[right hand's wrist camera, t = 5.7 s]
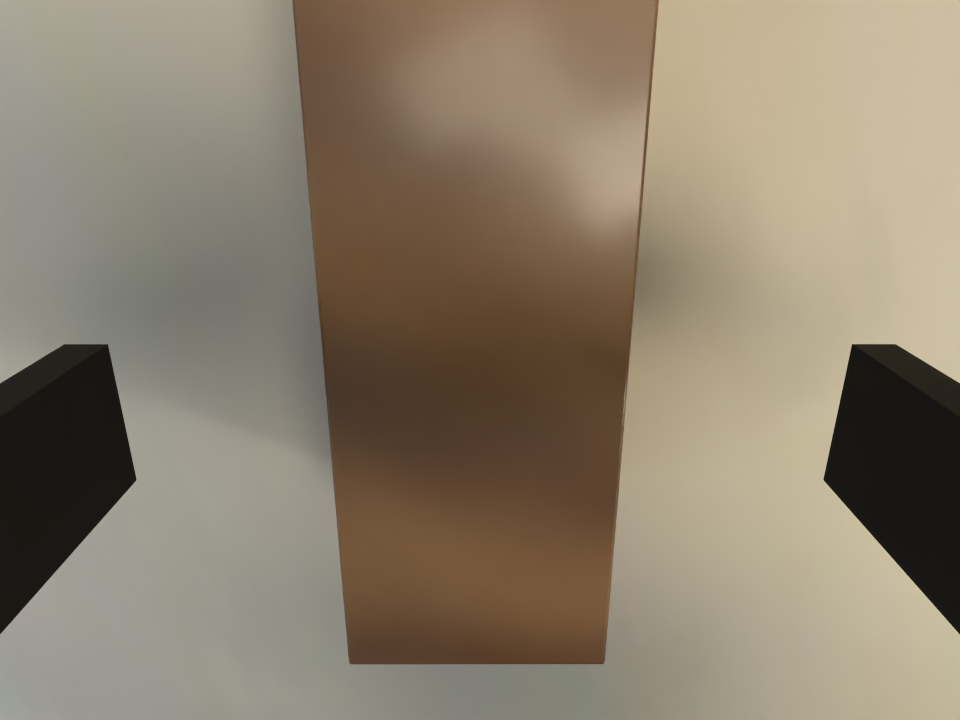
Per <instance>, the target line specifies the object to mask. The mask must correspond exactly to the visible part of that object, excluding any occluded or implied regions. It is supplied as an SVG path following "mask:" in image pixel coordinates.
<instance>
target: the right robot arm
mask: <svg viewBox="0 0 960 720" xmlns="http://www.w3.org/2000/svg"><path fill="white" fill-rule="evenodd" d="M135 481H136V475H135V471H134V466H133V461H132V457H131V452H130V447H129V442H128V438H127V433H126V428H125V423H124V419H123V414H122V409H121V405H120V400H119V395H118V390H117V386H116V381H115V376H114V371H113V367H112V362H111V357H110V352H109V348H108V344H64V345H63V346H61V347H59V348H58V349H56V350H54V351H53V352H51V353H49V354H48V355H46V356H45V357H43V358H41V359H40V360H38V361H36V362H35V363H33V364H31V365H30V366H28V367H26V368H25V369H23V370H22V371H20V372H18V373H17V374H15V375H13V376H12V377H10V378H8V379H7V380H5V381H4V382H2V383H0V634H1V633H2V632H3V630H4V629H5V628H6V627H7V626H8V625H9V624H10V623H11V621H12V620H13V619H14V618H15V617H16V616H17V615H18V613H19V612H20V611H21V610H22V609H23V608H24V607H25V606H26V604H27V603H28V602H29V601H30V600H31V599H32V598H33V596H34V595H35V594H36V593H37V592H38V591H39V590H40V589H41V587H42V586H43V585H44V584H45V583H46V582H47V581H48V580H49V578H50V577H51V576H52V575H53V574H54V573H55V572H56V570H57V569H58V568H59V567H60V566H61V565H62V564H63V563H64V561H65V560H66V559H67V558H68V557H69V556H70V555H71V553H72V552H73V551H74V550H75V549H76V548H77V547H78V546H79V544H80V543H81V542H82V541H83V540H84V539H85V538H86V537H87V535H88V534H89V533H90V532H91V531H92V530H93V529H94V527H95V526H96V525H97V524H98V523H99V522H100V521H101V520H102V518H103V517H104V516H105V515H106V514H107V513H108V512H109V510H110V509H111V508H112V507H113V506H114V505H115V504H116V503H117V501H118V500H119V499H120V498H121V497H122V496H123V495H124V494H125V492H126V491H127V490H128V489H129V488H130V487H131V486H132V484H133V483H134V482H135ZM824 481H825V482H826V483H827V484H828V486H829V487H830V488H831V489H832V490H833V491H834V492H835V494H836V495H837V496H838V497H839V498H840V499H841V500H842V501H843V503H844V504H845V505H846V506H847V507H848V508H849V509H850V510H851V512H852V513H853V514H854V515H855V516H856V517H857V518H858V520H859V521H860V522H861V523H862V524H863V525H864V526H865V527H866V529H867V530H868V531H869V532H870V533H871V534H872V535H873V537H874V538H875V539H876V540H877V541H878V542H879V543H880V544H881V546H882V547H883V548H884V549H885V550H886V551H887V552H888V553H889V555H890V556H891V557H892V558H893V559H894V560H895V561H896V563H897V564H898V565H899V566H900V567H901V568H902V569H903V570H904V572H905V573H906V574H907V575H908V576H909V577H910V578H911V580H912V581H913V582H914V583H915V584H916V585H917V586H918V587H919V589H920V590H921V591H922V592H923V593H924V594H925V595H926V596H927V598H928V599H929V600H930V601H931V602H932V603H933V604H934V606H935V607H936V608H937V609H938V610H939V611H940V612H941V613H942V615H943V616H944V617H945V618H946V619H947V620H948V621H949V623H950V624H951V625H952V626H953V627H954V628H955V629H956V630H957V632H958V633H959V634H960V383H958V382H956V381H955V380H953V379H952V378H950V377H948V376H947V375H945V374H943V373H942V372H940V371H938V370H937V369H935V368H934V367H932V366H930V365H929V364H927V363H925V362H924V361H922V360H920V359H919V358H917V357H915V356H914V355H912V354H911V353H909V352H907V351H906V350H904V349H902V348H901V347H899V346H897V345H896V344H852V348H851V352H850V357H849V362H848V367H847V371H846V376H845V381H844V386H843V390H842V395H841V400H840V405H839V409H838V414H837V419H836V423H835V428H834V433H833V438H832V442H831V447H830V452H829V457H828V461H827V466H826V471H825V475H824Z"/></svg>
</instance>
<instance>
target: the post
mask: <svg viewBox="0 0 960 720" xmlns="http://www.w3.org/2000/svg"><path fill="white" fill-rule="evenodd" d="M292 1H293V13H294V25H295V37H296V48H297V60H298V72H299V83H300V95H301V107H302V119H303V130H304V142H305V154H306V165H307V177H308V189H309V200H310V212H311V224H312V236H313V247H314V259H315V271H316V282H317V294H318V306H319V317H320V329H321V341H322V353H323V364H324V376H325V388H326V399H327V411H328V423H329V434H330V446H331V458H332V470H333V481H334V493H335V505H336V516H337V528H338V540H339V551H340V563H341V575H342V587H343V598H344V610H345V622H346V633H347V645H348V657H349V663H350V664H603V663H604V661H605V651H606V638H607V626H608V614H609V602H610V590H611V577H612V565H613V553H614V541H615V528H616V516H617V504H618V492H619V479H620V467H621V455H622V443H623V430H624V418H625V406H626V394H627V381H628V369H629V357H630V345H631V332H632V320H633V308H634V296H635V283H636V271H637V259H638V247H639V235H640V222H641V210H642V198H643V186H644V173H645V161H646V149H647V137H648V124H649V112H650V100H651V88H652V75H653V63H654V51H655V39H656V26H657V14H658V2H659V0H292Z"/></svg>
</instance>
